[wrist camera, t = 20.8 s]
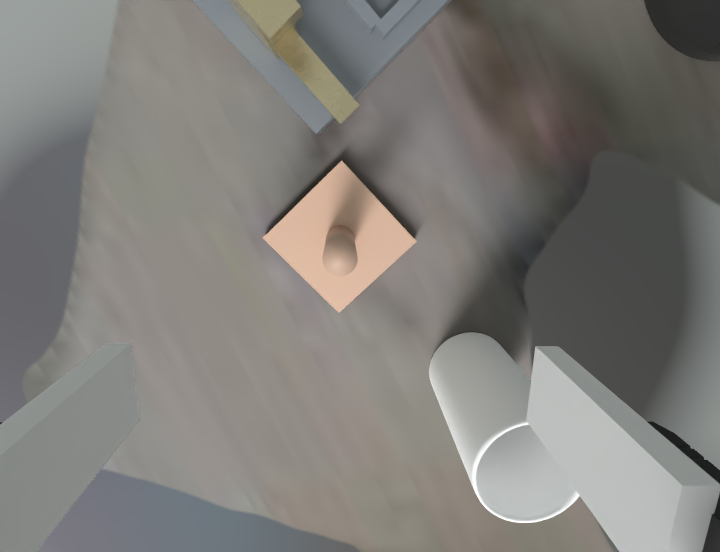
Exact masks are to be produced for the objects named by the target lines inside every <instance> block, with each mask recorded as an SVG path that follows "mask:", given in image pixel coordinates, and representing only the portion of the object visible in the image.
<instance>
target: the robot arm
mask: <svg viewBox="0 0 720 552" xmlns="http://www.w3.org/2000/svg"><path fill="white" fill-rule="evenodd" d="M645 3H646V7H647V10H648V13H649V16H650V18H651V20H652V22H653V24H654V26H655V28H656V29H657V31H658V32H659V33H660V35H661V36H662V37H663V38H664V39H665V41H666V42H668V43H669V44H670V45H671V46H672V47H673V48H675V49H676V50H678V51H679V52H681V53H683V54H685V55H687V56H690V57H693V58H696V59H700V60H707V61H720V0H645ZM139 420H140V418H139V408H138V399H137V389H136V380H135V370H134V361H133V351H132V343H106V344H104V345H103V346H102V347H101V348H99V349H98V350H97V351H95V352H94V353H93V354H91V355H90V356H89V357H88V358H86V359H85V360H84V361H82V362H81V363H80V364H78V365H77V366H76V367H75V368H73V369H72V370H71V371H69V372H68V373H67V374H65V375H64V376H63V377H62V378H60V379H59V380H58V381H56V382H55V383H54V384H52V385H51V386H50V387H49V388H47V389H46V390H45V391H43V392H42V393H41V394H39V395H38V396H37V397H36V398H34V399H33V400H32V401H30V402H29V403H28V404H26V405H25V406H24V407H23V408H21V409H20V410H19V411H17V412H16V413H15V414H14V415H12V416H11V417H10V418H8V419H7V420H6V421H4V422H1V423H0V552H37V550H38V549H39V548H40V546H41V545H42V544H43V542H44V541H45V540H46V539H47V538H48V536H49V535H50V533H51V532H52V531H53V530H54V529H55V527H56V526H57V525H58V523H59V522H60V521H61V520H62V518H63V517H64V516H65V515H66V513H67V512H68V511H69V509H70V508H71V507H72V506H73V504H74V503H75V502H76V500H77V499H78V498H79V497H80V495H81V494H82V493H83V492H84V490H85V489H86V488H87V486H88V485H89V484H90V483H91V481H92V480H93V479H94V478H95V476H96V475H97V474H98V472H99V471H100V470H101V469H102V467H103V466H104V465H105V463H106V462H107V461H108V460H109V458H110V457H111V456H112V455H113V453H114V452H115V451H116V449H117V448H118V447H119V446H120V444H121V443H122V442H123V441H124V439H125V438H126V437H127V435H128V434H129V433H130V432H131V430H132V429H133V428H134V426H135V425H136V424H137V423H138V421H139ZM526 421H527V422H528V424H529V425H530V427H531V428H532V429H533V431H534V432H535V434H536V435H537V436H538V438H539V439H540V441H541V442H542V443H543V445H544V446H545V448H546V449H547V450H548V452H549V453H550V455H551V456H552V457H553V459H554V460H555V462H556V463H557V464H558V466H559V467H560V469H561V470H562V471H563V473H564V474H565V476H566V477H567V478H568V480H569V481H570V483H571V484H572V485H573V487H574V488H575V490H576V491H577V492H578V494H579V495H580V497H581V498H582V499H583V501H584V502H585V504H586V505H587V506H588V508H589V509H590V511H591V512H592V513H593V515H594V516H595V518H596V519H597V520H598V522H599V523H600V525H601V526H602V527H603V529H604V530H605V532H606V533H607V534H608V536H609V537H610V539H611V540H612V541H613V543H614V544H615V546H616V547H617V549H618V550H619V551H620V552H720V470H719V469H717V468H716V467H715V466H714V465H713V464H711V463H710V462H709V461H708V460H704V457H703V456H701V455H700V454H699V453H698V452H697V451H695V450H694V449H691V448H690V446H689V445H688V444H687V443H686V442H684V441H683V440H682V439H681V438H680V437H678V436H677V435H676V434H675V433H673V432H671V431H669V430H667V429H665V428H664V427H662V426H660V425H658V424H656V423H654V422H646V421H645V420H644V419H643V418H642V417H640V416H639V415H638V414H637V413H636V412H635V411H633V410H632V409H631V408H630V407H629V406H628V405H626V404H625V403H624V402H623V401H622V400H621V399H619V398H618V397H617V396H616V395H615V394H614V393H612V392H611V391H610V390H609V389H608V388H606V387H605V386H604V385H603V384H602V383H601V382H599V381H598V380H597V379H596V378H595V377H594V376H592V375H591V374H590V373H589V372H588V371H587V370H585V369H584V368H583V367H582V366H581V365H579V364H578V363H577V362H576V361H575V360H573V359H572V358H571V357H570V356H569V355H568V354H567V353H565V352H564V351H563V350H562V349H561V348H560V347H558V346H554V347H553V346H551V347H549V346H536V348H535V355H534V363H533V371H532V378H531V386H530V394H529V401H528V409H527V417H526Z"/></svg>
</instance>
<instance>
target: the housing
mask: <svg viewBox="0 0 720 552" xmlns="http://www.w3.org/2000/svg"><path fill="white" fill-rule="evenodd" d="M192 1H193V2H194V3H195V4H196V5H197V6H198V8H199V9H200V10H201V11H202V12H203V13H204V14H205V15H206V16H207V17H208V18H209V19H210V20H211V22H212V23H213V24H214V25H215V26H216V27H217V28H218V29H219V30H220V31H221V32H222V33H223V34H224V36H225V37H226V38H227V39H228V40H229V41H230V42H231V43H232V44H233V45H234V46H235V47H236V48H237V49H238V51H239V52H240V53H241V54H242V55H243V56H244V57H245V58H246V59H247V60H248V61H249V62H250V63H251V65H252V66H253V67H254V68H255V69H256V70H257V71H258V72H259V73H260V74H261V75H262V76H263V77H264V78H265V80H266V81H267V82H268V83H269V84H270V85H271V86H272V87H273V88H274V89H275V90H276V91H277V92H278V94H279V95H280V96H281V97H282V98H283V99H284V100H285V101H286V102H287V103H288V104H289V105H290V106H291V108H292V109H293V110H294V111H295V112H296V113H297V114H298V115H299V116H300V117H301V118H302V119H303V120H304V121H305V123H306V124H307V125H308V126H309V127H310V128H311V129H312V130H313V131H314V132H315V133H316V134H317V135H319V134H320V133H321V132H322V131H323V130H324V129H325V128H326V127H327V126H328V125H329V124H330V123H331V122H332V121H333V120H334V119H335V118H334V117H333V116H332V115H331V114H330V112H329V111H328V110H327V109H326V108H325V107H324V106H323V105H322V103H321V102H320V101H319V100H318V99H317V98H316V97H315V96H314V94H313V93H312V92H311V91H310V90H309V89H308V88H307V86H306V85H305V84H304V83H303V82H302V81H301V80H300V79H299V77H298V76H297V75H296V74H295V73H294V72H293V71H292V70H291V68H290V67H289V66H288V65H287V64H286V63H285V62H284V61H283V59H282V58H281V57H280V58H279V59H277V58H276V57H275V56H274V55H273V54H272V52H271V51H270V50H269V49H268V48H267V47H266V46H265V45H264V43H263V42H262V41H261V40H260V39H259V38H258V37H257V36H256V34H255V33H254V32H253V31H252V30H251V29H250V28H249V27H248V25H247V24H246V23H245V22H244V21H243V20H242V19H241V17H240V16H239V15H238V13H237V12H236V10H235V9H234V7H233V6H232V5H231V3H230V2H229V0H192ZM296 1H297V2H298V3H299V5H300V6H301V9H302V12H303V16H302V17H301V18H300V19H299V20H298V21H297V22H296V23H295V25H296V28H297V31H298V34H299V36H300V37H301V38H302V39H303V40H304V41H305V43H306V44H307V45H308V46H309V47H310V48H311V49H312V51H313V52H314V53H315V54H316V55H317V56H318V58H319V59H320V60H321V61H322V62H323V63H324V64H325V66H326V67H327V68H328V69H329V70H330V71H331V73H332V74H333V75H334V76H335V77H336V78H337V80H338V81H339V82H340V83H341V84H342V85H343V86H344V88H345V89H346V90H347V91H348V92H349V93H350V95H351V96H352V97H353V98H354V99H355V98H356V97H357V96H358V95H359V94H360V93H361V92H362V91H363V90H364V89H365V88H366V87H367V86H368V85H369V84H370V83H371V82H372V81H373V80H374V79H375V78H376V77H377V76H378V75H379V74H380V73H381V72H382V71H383V70H384V69H385V68H386V67H387V66H388V65H389V64H390V63H391V62H392V61H393V60H394V59H395V58H396V57H397V56H398V55H399V54H400V53H401V52H402V50H403V49H404V48H405V47H406V46H407V45H408V44H409V43H410V42H411V41H412V40H413V39H414V38H415V37H416V36H417V35H418V34H419V33H420V32H421V31H422V30H423V29H424V28H425V27H426V26H427V25H428V24H429V23H430V22H431V21H432V20H433V19H434V18H435V17H436V16H437V15H438V14H439V13H440V12H441V11H442V10H443V9H444V8H445V7H446V6H447V5H448V4H449V3H450V2H451V1H452V0H296Z"/></svg>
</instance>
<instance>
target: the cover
mask: <svg viewBox="0 0 720 552" xmlns="http://www.w3.org/2000/svg"><path fill="white" fill-rule="evenodd" d="M263 239H264V240H265V241H266V242H267V243H268V244H269V245H270V246H271V247H272V248H273V249H274V250H275V251H276V252H277V253H278V254H279V255H280V256H281V257H282V258H284V259H285V260H286V261H287V262H288V263H289V264H290V265H291V266H292V267H293V268H294V269H295V270H296V271H297V272H298V273H299V274H300V275H301V276H302V277H303V278H304V279H305V280H306V281H307V282H308V283H309V284H310V285H311V286H312V287H313V288H314V289H315V290H316V291H317V292H318V293H319V294H320V295H321V296H322V297H323V298H324V299H325V300H326V301H327V302H328V303H329V304H330V305H331V306H332V307H334V308H335V309H336V310H337V311H338V312H340V311H341V310H342V309H344V308H345V307H346V306H347V305H348V304H349V303H350V302H351V301H352V300H353V299H354V298H356V297H357V296H358V295H359V294H360V293H361V292H362V291H363V290H364V289H365V288H366V287H367V286H369V285H370V284H371V283H372V282H373V281H374V280H375V279H376V278H377V277H378V276H379V275H381V274H382V273H383V272H384V271H385V270H386V269H387V268H388V267H389V266H390V265H391V264H393V263H394V262H395V261H396V260H397V259H398V258H399V257H400V256H401V255H402V254H403V253H405V252H406V251H407V250H408V249H409V248H410V247H411V246H412V245H413V244H414V243H415V242H417V241H416V240H415V239H414V238H413V237H412V236H411V235H410V234H409V233H408V232H407V231H406V229H405V228H404V227H403V226H402V225H401V224H400V223H399V222H398V221H397V220H396V219H395V218H394V216H393V215H392V214H391V213H390V212H389V211H388V210H387V209H386V208H385V207H384V206H383V205H382V204H381V202H380V201H379V200H378V199H377V198H376V197H375V196H374V195H373V194H372V193H371V192H370V191H369V189H368V188H367V187H366V186H365V185H364V184H363V183H362V182H361V181H360V180H359V179H358V178H357V176H356V175H355V174H354V173H353V172H352V171H351V170H350V169H349V168H348V167H347V166H346V165H345V163H344V162H343V161H341V162H340V163H339V164H338V165H337V166H336V167H335V168H334V169H332V170H331V171H330V172H329V173H328V174H327V175H326V176H325V177H324V178H323V179H322V180H321V181H320V182H319V183H318V184H317V185H316V186H315V187H314V188H313V189H312V190H311V191H310V192H309V193H308V194H307V195H306V196H305V197H304V198H303V199H302V200H301V201H300V202H299V203H298V204H297V205H296V206H295V207H294V208H293V209H292V210H291V211H290V212H289V213H288V214H287V215H286V216H285V217H284V218H283V219H282V220H281V221H280V222H279V223H278V224H277V225H275V226H274V227H273V228H272V229H271V230H270V231H269V232H268V233H267V234H266V235H265V236H264V237H263Z"/></svg>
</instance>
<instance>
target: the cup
mask: <svg viewBox="0 0 720 552" xmlns="http://www.w3.org/2000/svg"><path fill="white" fill-rule="evenodd" d="M429 377H430V382H431V384H432V387H433V389H434V392H435V394H436V397H437V399H438V402H439V404H440V407H441V409H442V412H443V414H444V417H445V419H446V422H447V424H448V426H449V429H450V431H451V434H452V436H453V439H454V441H455V444H456V446H457V449H458V451H459V454H460V456H461V459H462V461H463V464H464V466H465V469H466V471H467V473H468V476H469V478H470V481H471V483H472V486H473V488H474V491H475V493H476V495H477V497H478V498H479V500H480V502H481V503H482V504H483V505H484V507H485V508H486V509H487V510H489V511H490V512H491V513H492V514H494V515H496V516H497V517H500V518H502V519H505V520H508V521H512V522H518V523H531V522H538V521H542V520H546V519H548V518H551V517H553V516H555V515H557V514H559V513H561V512H562V511H564V510H565V509H567V508H568V507H569V506H571V505H572V504H573V503H574V502H575V501H576V499H577V498H578V497H579V496H580V495H579V494H578V492H577V491H576V490H575V488H574V487H573V485H572V484H571V483H570V481H569V480H568V478H567V477H566V476H565V474H564V473H563V471H562V470H561V469H560V467H559V466H558V464H557V463H556V462H555V460H554V459H553V457H552V456H551V455H550V453H549V452H548V450H547V449H546V448H545V446H544V445H543V443H542V442H541V441H540V439H539V438H538V436H537V435H536V434H535V432H534V431H533V429H532V428H531V427H530V425H529V424H528V422H527V421H526V417H527V409H528V401H529V394H530V386H531V380H530V379H529V378H528V376H527V375H526V374H525V373H524V372H523V371H522V369H521V368H520V367H519V366H518V365H517V364H516V363H515V361H514V360H513V359H512V358H511V357H510V356H509V354H508V353H507V352H506V351H505V350H504V349H503V348H502V346H501V345H500V344H499V343H498V342H497V341H496V340H494V339H493V338H491V337H489V336H487V335H485V334H481V333H474V332H469V333H462V334H458V335H456V336H453V337H451V338H449V339H448V340H446V341H445V342H444V343H442V344H441V345H440V346H439V348H438V349H437V350H436V351H435V353H434V355H433V357H432V359H431V362H430V367H429Z"/></svg>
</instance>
